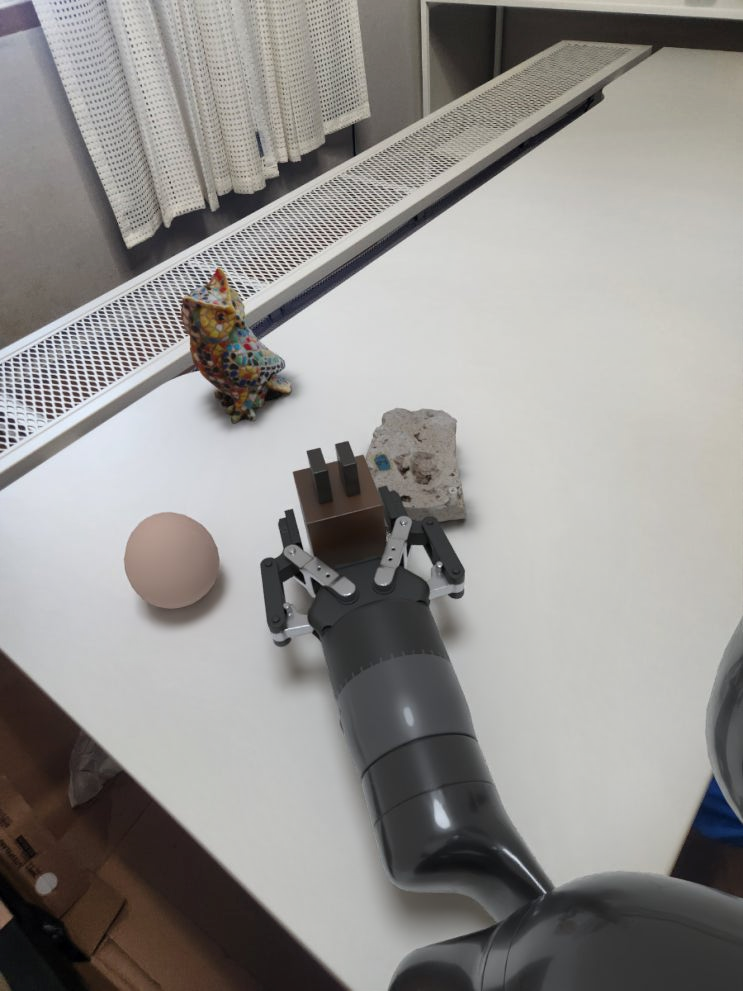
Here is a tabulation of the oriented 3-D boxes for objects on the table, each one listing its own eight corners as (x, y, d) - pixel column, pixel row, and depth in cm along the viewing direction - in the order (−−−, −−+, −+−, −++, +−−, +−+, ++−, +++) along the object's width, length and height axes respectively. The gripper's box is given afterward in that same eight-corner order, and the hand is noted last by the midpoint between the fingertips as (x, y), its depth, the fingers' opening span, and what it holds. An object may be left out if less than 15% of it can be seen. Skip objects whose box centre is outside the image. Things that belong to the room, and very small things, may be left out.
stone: (466, 523, 54) (346, 504, 56) (460, 555, 59) (349, 537, 60) (483, 399, 61) (375, 384, 62) (476, 437, 66) (376, 423, 67)
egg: (159, 554, 59) (126, 489, 53) (238, 557, 58) (214, 490, 52) (131, 625, 54) (91, 561, 48) (216, 629, 53) (187, 564, 47)
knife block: (374, 547, 58) (359, 423, 48) (392, 597, 54) (380, 473, 44) (313, 563, 57) (285, 440, 47) (327, 615, 53) (299, 493, 43)
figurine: (291, 421, 70) (263, 291, 59) (206, 430, 70) (162, 302, 59) (292, 373, 76) (266, 246, 65) (213, 381, 76) (175, 256, 65)
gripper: (512, 628, 39) (423, 447, 50) (270, 697, 37) (234, 494, 49) (504, 690, 45) (425, 514, 56) (292, 753, 43) (255, 558, 54)
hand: (336, 505), depth 52 cm, fingers open, 7 cm apart
